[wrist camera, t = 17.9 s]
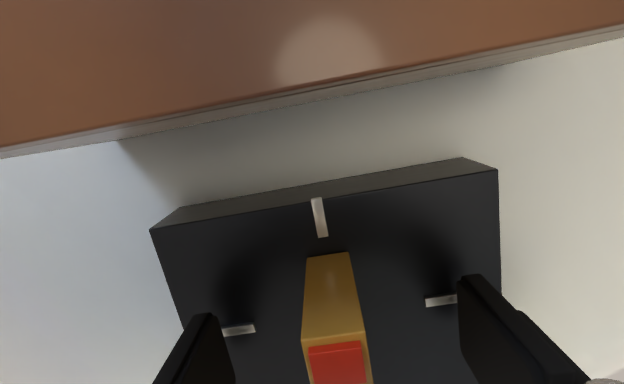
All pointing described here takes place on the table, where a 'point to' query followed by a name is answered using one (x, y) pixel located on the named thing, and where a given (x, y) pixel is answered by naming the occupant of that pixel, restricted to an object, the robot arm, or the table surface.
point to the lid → (240, 52)
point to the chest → (319, 94)
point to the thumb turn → (333, 323)
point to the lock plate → (364, 260)
